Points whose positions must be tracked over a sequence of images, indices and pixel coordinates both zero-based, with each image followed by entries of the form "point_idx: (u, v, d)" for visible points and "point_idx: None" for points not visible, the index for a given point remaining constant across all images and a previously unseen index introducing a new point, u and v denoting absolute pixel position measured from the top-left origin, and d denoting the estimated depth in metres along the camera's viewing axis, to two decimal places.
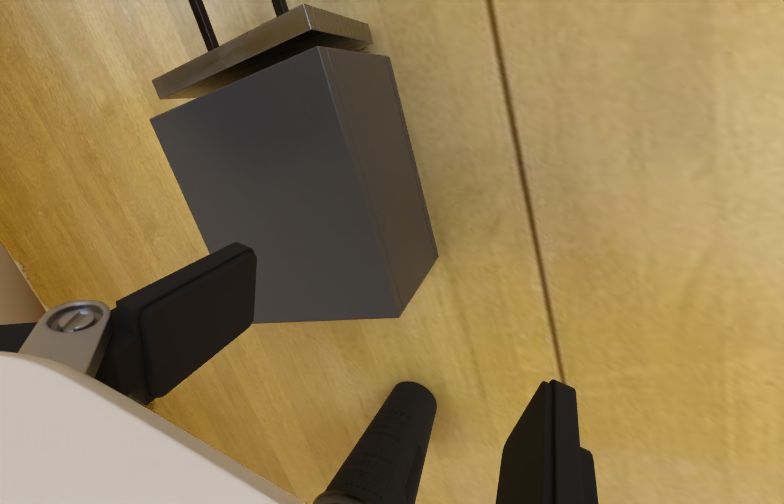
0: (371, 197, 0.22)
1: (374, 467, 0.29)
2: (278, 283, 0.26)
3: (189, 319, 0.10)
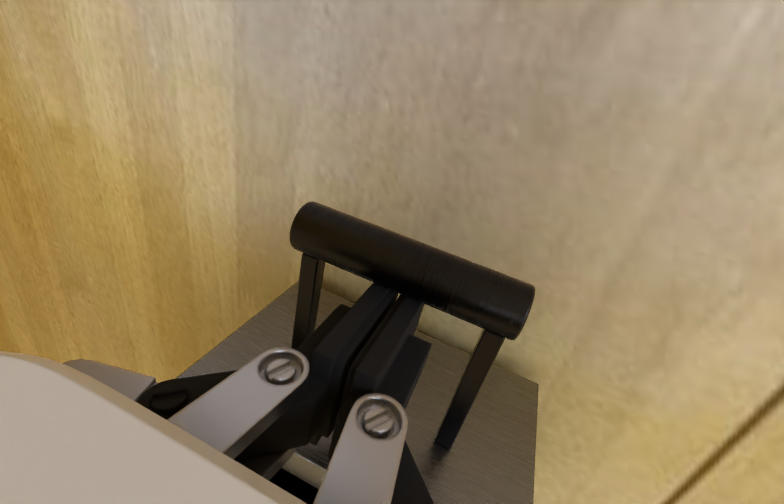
0: None
1: None
2: None
3: None
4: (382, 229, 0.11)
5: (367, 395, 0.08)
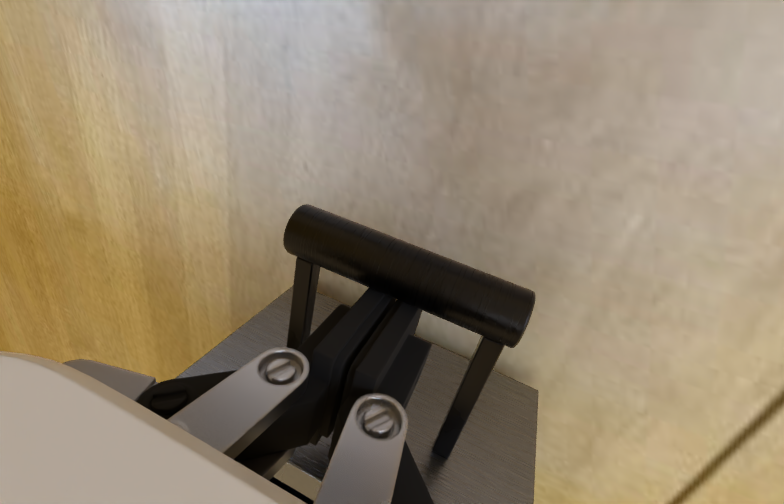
0: None
1: None
2: None
3: None
4: (378, 233, 0.11)
5: (367, 395, 0.08)
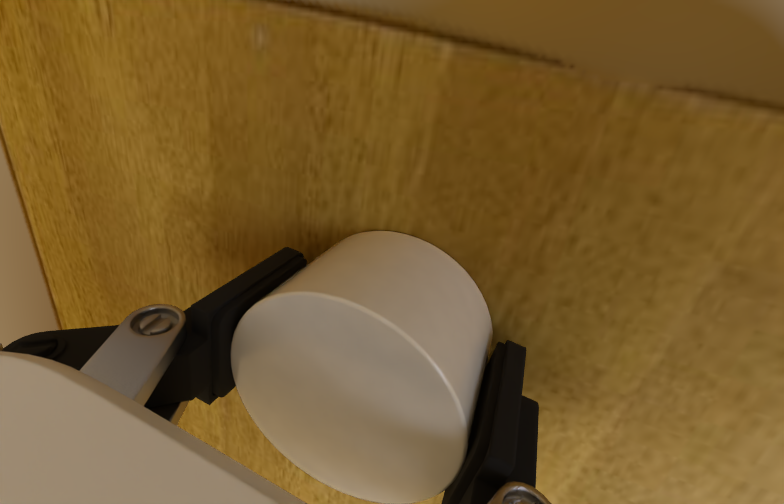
0: None
1: None
2: None
3: None
4: None
5: (506, 485, 0.07)
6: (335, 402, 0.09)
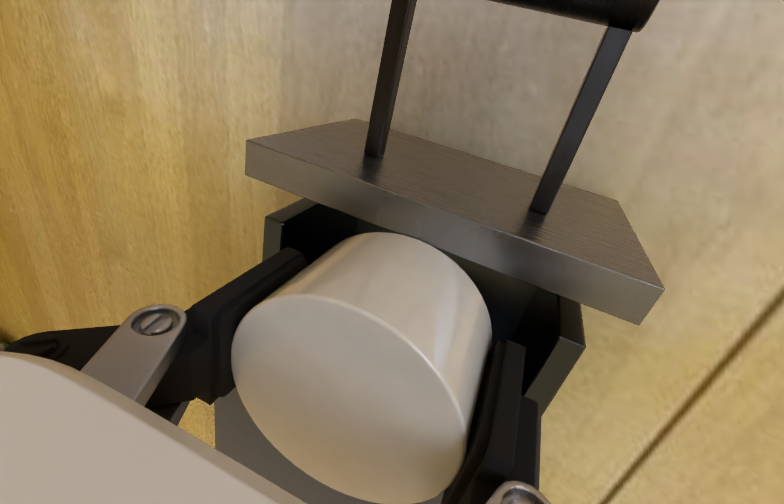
0: None
1: None
2: None
3: None
4: None
5: (505, 484, 0.07)
6: (334, 404, 0.09)
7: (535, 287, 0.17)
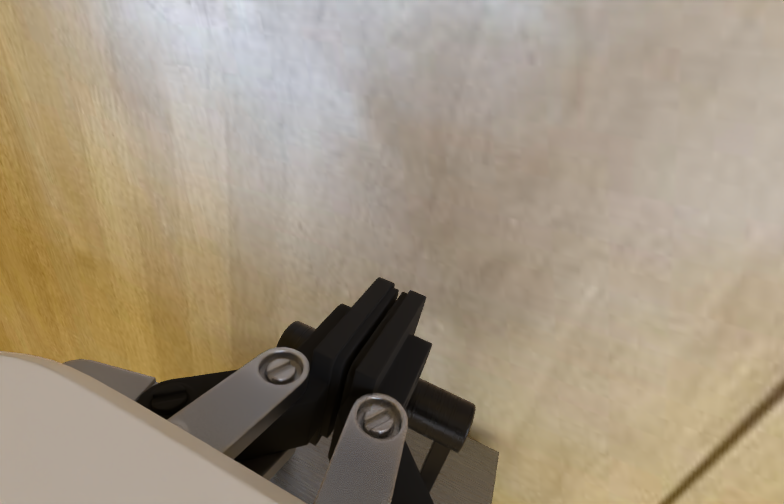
0: None
1: None
2: None
3: None
4: None
5: (367, 395, 0.08)
6: None
7: None
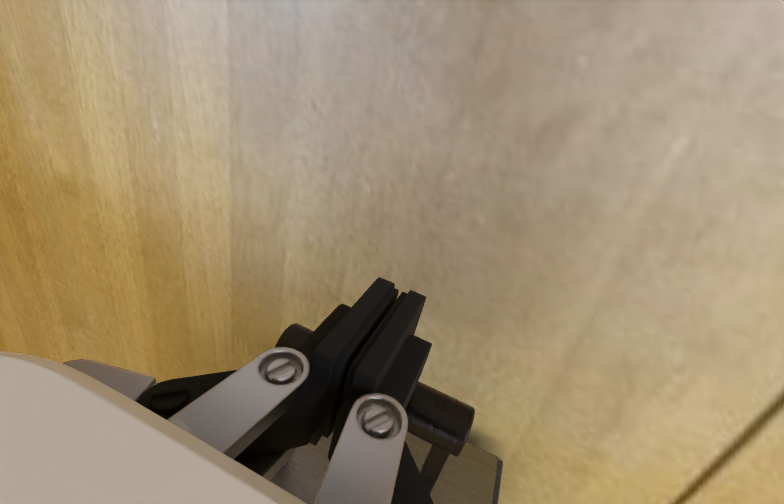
0: None
1: None
2: None
3: None
4: None
5: (367, 395, 0.08)
6: None
7: None
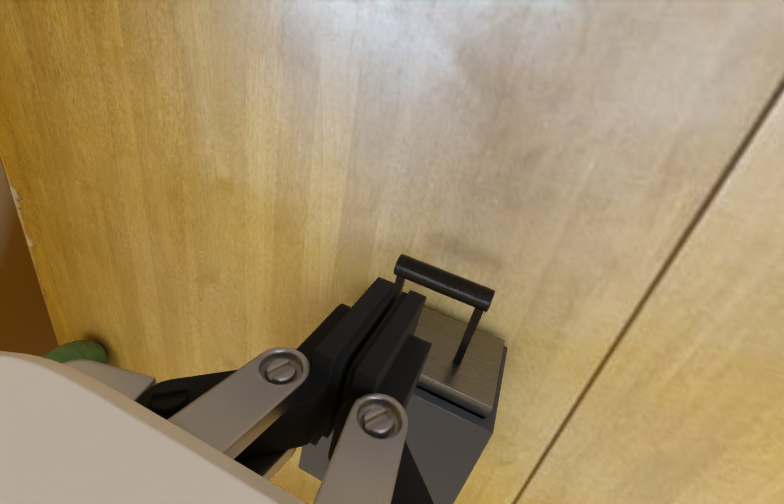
0: None
1: None
2: None
3: None
4: (433, 267, 0.26)
5: (367, 395, 0.08)
6: None
7: None
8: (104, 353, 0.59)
